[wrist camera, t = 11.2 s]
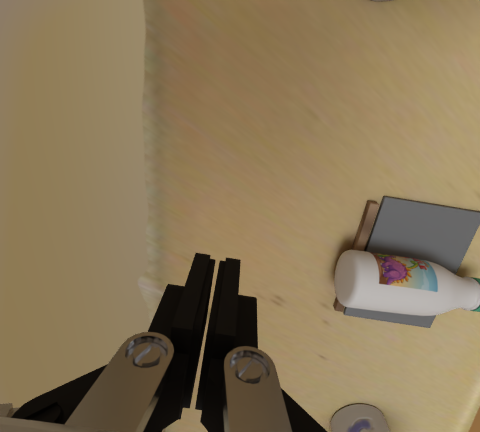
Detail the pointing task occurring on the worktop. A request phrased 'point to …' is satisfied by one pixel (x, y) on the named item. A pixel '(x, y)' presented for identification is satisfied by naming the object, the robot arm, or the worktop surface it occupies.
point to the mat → (419, 242)
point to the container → (359, 419)
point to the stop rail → (362, 236)
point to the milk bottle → (401, 285)
